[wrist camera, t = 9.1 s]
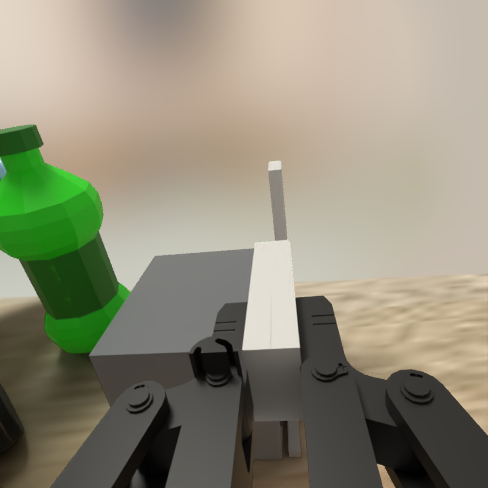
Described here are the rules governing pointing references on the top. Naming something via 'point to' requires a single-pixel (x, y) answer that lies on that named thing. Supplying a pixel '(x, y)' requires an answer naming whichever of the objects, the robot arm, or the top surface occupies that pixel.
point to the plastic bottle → (57, 242)
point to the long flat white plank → (277, 200)
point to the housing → (179, 330)
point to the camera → (8, 422)
